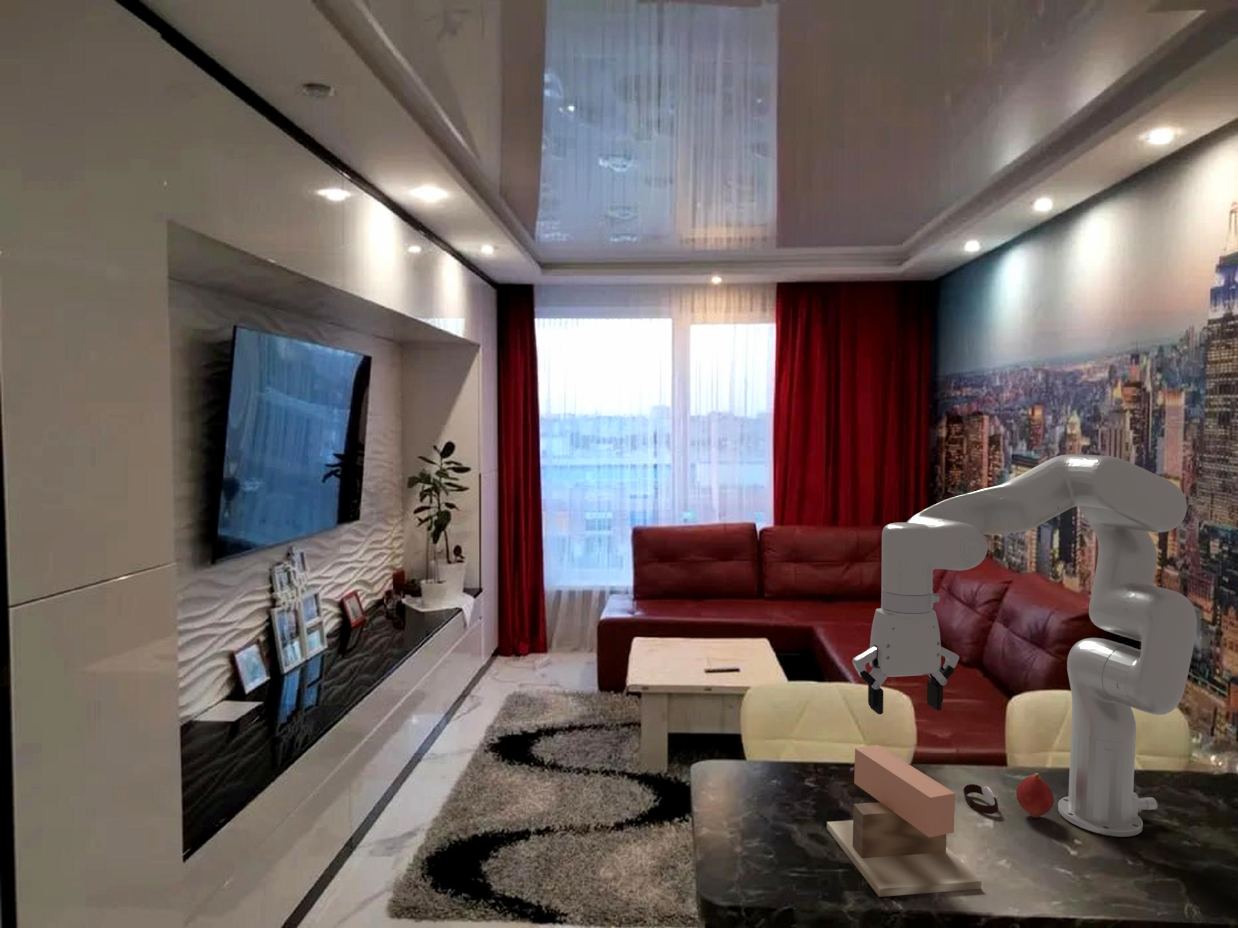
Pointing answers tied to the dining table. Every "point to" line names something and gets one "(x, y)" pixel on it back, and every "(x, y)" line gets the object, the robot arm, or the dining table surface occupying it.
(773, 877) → the dining table surface
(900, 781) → the beam
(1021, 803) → the onion
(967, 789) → the watch
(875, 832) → the stand
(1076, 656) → the robot arm
